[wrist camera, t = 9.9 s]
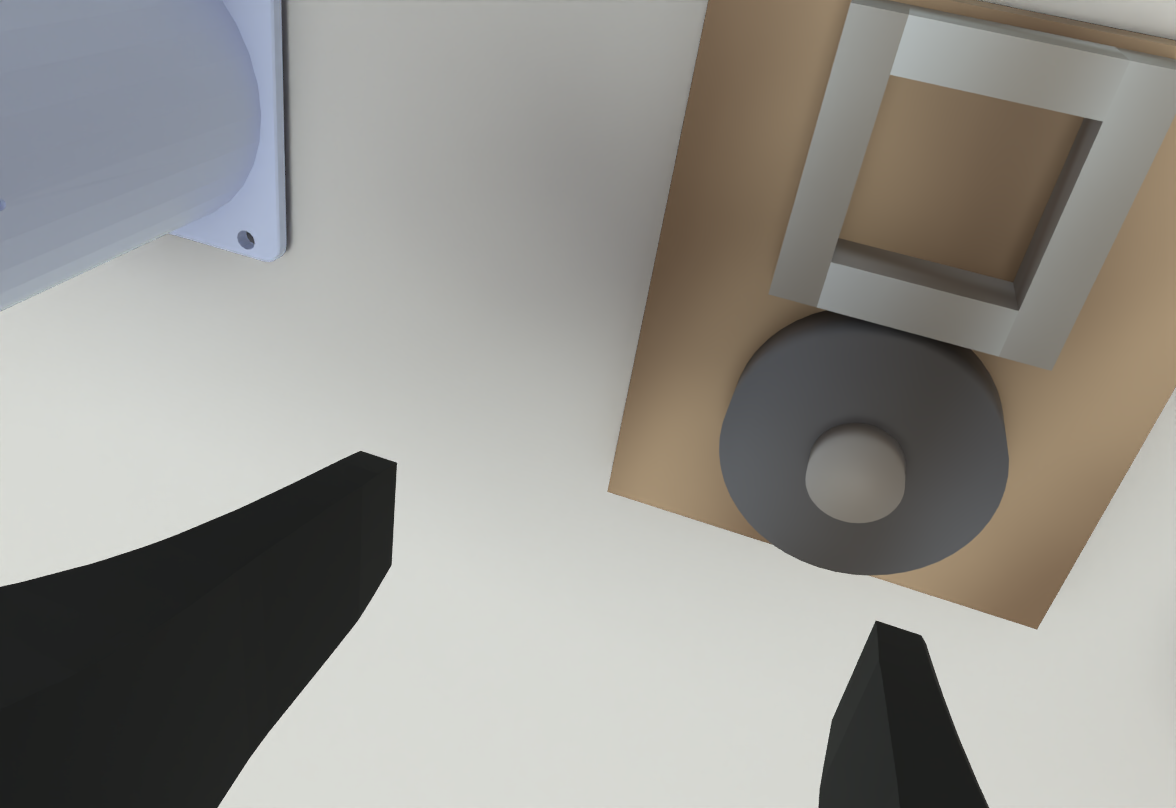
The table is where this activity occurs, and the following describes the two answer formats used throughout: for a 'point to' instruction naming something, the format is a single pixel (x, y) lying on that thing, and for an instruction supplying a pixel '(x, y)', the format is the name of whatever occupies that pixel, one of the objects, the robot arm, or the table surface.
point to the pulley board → (911, 290)
